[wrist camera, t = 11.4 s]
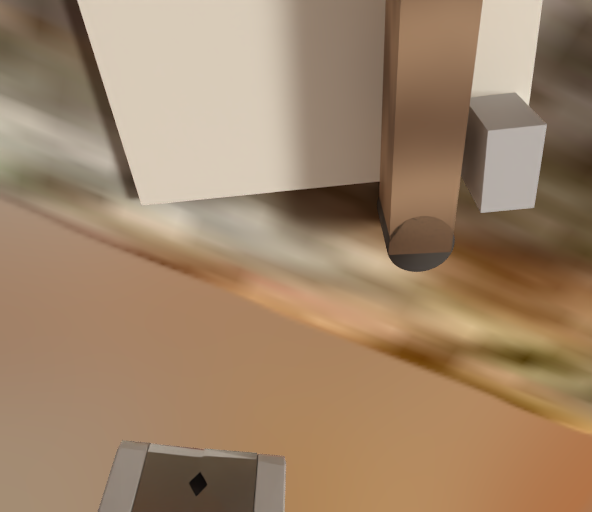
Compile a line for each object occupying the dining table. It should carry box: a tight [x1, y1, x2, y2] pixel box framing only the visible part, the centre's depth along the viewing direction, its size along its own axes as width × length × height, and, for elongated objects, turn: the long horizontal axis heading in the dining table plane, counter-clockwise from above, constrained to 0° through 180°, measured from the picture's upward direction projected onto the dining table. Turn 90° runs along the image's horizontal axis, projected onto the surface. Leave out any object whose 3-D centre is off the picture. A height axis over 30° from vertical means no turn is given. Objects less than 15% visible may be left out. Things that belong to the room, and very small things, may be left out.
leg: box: [377, 0, 483, 272], centre depth 25 cm, size 14×3×4 cm, turn 3°
